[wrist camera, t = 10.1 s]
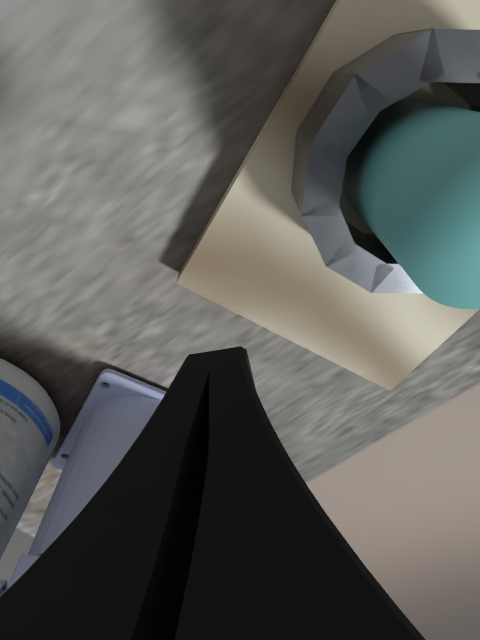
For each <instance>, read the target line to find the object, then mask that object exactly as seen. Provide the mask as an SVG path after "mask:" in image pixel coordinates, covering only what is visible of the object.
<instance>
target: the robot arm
mask: <svg viewBox="0 0 480 640" xmlns="http://www.w3.org/2000/svg"><path fill="white" fill-rule="evenodd" d="M103 382H106V383H108V384H104V383H103ZM53 465H54V466H55V467H56V468H58V469H61V470H63V471H62V474H61V476H60V478H59V481H58V483H57V486H56V488H55V490H54V493H53V495H52V498H51V500H50V502H49V505H48V507H47V510H46V512H45V514H44V517H43V519H42V521H41V524H40V526H39V529H38V531H37V533H36V536H35V538H34V541H33V543H32V545H31V548H30V550H29V553H28V554H23V555H21V556H20V559H19V561H18V563H17V566H16V568H15V570H14V573H13V575H12V577H11V580H10V582H9V584H8V586H7V580H2V579H0V640H425V639H424V637H423V636H422V635H421V634H420V633H419V632H418V630H417V629H416V628H415V627H414V626H413V624H412V623H411V622H410V621H409V620H408V618H406V616H405V615H404V614H403V613H402V611H401V610H400V609H399V608H398V607H397V605H396V604H395V603H394V602H393V600H392V599H391V598H390V597H389V595H388V594H387V593H386V592H385V590H384V589H383V588H382V587H381V585H380V584H379V583H378V582H377V581H376V579H375V578H374V577H373V575H372V574H371V573H370V572H369V571H368V569H367V568H366V567H365V566H364V564H363V563H362V561H361V560H360V559H359V557H358V556H357V555H356V553H355V552H354V551H353V549H352V548H351V547H350V545H349V544H348V543H347V541H346V540H345V539H344V537H343V536H342V534H341V533H340V532H339V531H338V529H337V528H336V526H335V525H334V524H333V522H332V521H331V520H330V518H329V517H328V516H327V514H326V513H325V512H324V510H323V509H322V507H321V506H320V504H319V503H318V501H317V500H316V498H315V497H314V495H313V494H312V492H311V491H310V489H309V488H308V487H307V485H306V483H305V482H304V480H303V478H302V477H301V475H300V474H299V472H298V471H297V469H296V467H295V466H294V464H293V462H292V461H291V459H290V457H289V456H288V454H287V452H286V451H285V449H284V447H283V445H282V443H281V442H280V440H279V438H278V436H277V434H276V432H275V431H274V429H273V427H272V425H271V423H270V421H269V419H268V417H267V415H266V412H265V410H264V408H263V406H262V404H261V401H260V399H259V397H258V395H257V392H256V389H255V385H254V380H253V376H252V372H251V367H250V363H249V359H248V354H247V350H246V349H244V348H242V347H234V348H228V349H222V350H216V351H209V352H203V353H197V354H190V355H188V357H187V358H186V359H185V361H184V363H183V364H182V366H181V368H180V370H179V371H178V373H177V375H176V377H175V378H174V380H173V382H172V383H171V385H170V387H169V389H168V390H167V392H166V391H164V390H161V389H159V388H157V387H154V386H152V385H149V384H147V383H144V382H142V381H140V380H137V379H135V378H132V377H130V376H127V375H125V374H123V373H120V372H118V371H115V370H113V369H104V370H103V371H102V372H101V373H100V375H99V377H98V379H97V381H96V382H95V384H94V386H93V388H92V390H91V392H90V393H89V395H88V397H87V399H86V401H85V403H84V405H83V406H82V408H81V410H80V412H79V414H78V416H77V418H76V419H75V421H74V423H73V425H72V427H71V429H70V431H69V432H68V434H67V436H66V438H65V440H64V442H63V444H62V445H61V447H60V449H59V451H58V453H57V455H56V456H55V458H54V461H53ZM6 588H7V589H6Z"/></svg>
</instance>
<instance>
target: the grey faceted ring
mask: <svg viewBox="0 0 480 640" xmlns="http://www.w3.org/2000/svg"><path fill="white" fill-rule="evenodd" d="M431 82H443V83H445V84H446V85H447V86H448V87H449V88H450V89H452V90H453V91H454V92H455V93H456V94H457V95H459V96H460V97H461V98H462V99H463V100H464V101H466V102H467V103H468V104H469V108H470V110H472V111H476V112H480V30H466V29H434V28H430V29H424V30H418V31H411V32H405V33H398V34H394V35H393V36H391V37H390V38H388V39H386V40H385V41H383V42H381V43H380V44H378V45H376V46H375V47H373V48H371V49H370V50H368V51H366V52H365V53H363V54H362V55H360V56H358V57H357V58H355V59H353V60H352V61H350V62H348V63H347V64H345V65H343V66H342V67H340V68H339V69H337V70H335V71H333V73H332V74H331V76H330V78H329V79H328V81H327V82H326V84H325V86H324V87H323V89H322V91H321V92H320V94H319V95H318V97H317V99H316V100H315V102H314V103H313V105H312V107H311V108H310V110H309V111H308V113H307V115H306V116H305V118H304V120H303V121H302V123H301V124H300V126H299V128H298V129H297V131H296V142H295V153H294V164H293V175H292V186H291V192H292V194H293V197H294V199H295V201H296V204H297V206H298V209H299V211H300V213H301V216H302V217H303V219H304V221H305V223H306V225H307V227H308V229H309V232H310V234H311V236H312V238H313V240H314V242H315V244H316V246H317V248H318V251H319V253H320V255H321V257H322V259H323V262H324V264H325V266H326V267H328V268H330V269H331V270H333V271H335V272H336V273H338V274H340V275H342V276H343V277H345V278H347V279H348V280H350V281H352V282H353V283H355V284H357V285H359V286H360V287H362V288H364V289H365V290H367V291H369V292H370V293H412V294H424V293H423V292H422V291H421V290H420V289H419V288H418V287H417V286H416V285H415V284H414V282H413V281H412V280H411V279H410V277H409V276H408V275H407V274H406V272H405V271H404V270H403V268H402V267H401V266H400V265H399V263H398V262H397V261H396V260H395V258H394V257H393V256H392V255H391V253H390V252H389V251H388V250H387V248H386V247H385V246H384V245H383V243H382V242H381V241H380V240H379V238H378V237H377V236H376V235H375V233H363V232H362V231H360V230H359V229H357V228H355V227H354V226H352V225H351V224H349V223H348V222H346V221H345V219H344V217H343V214H342V212H341V210H340V207H339V204H340V198H341V191H342V185H343V179H344V172H345V166H346V160H347V157H348V155H349V154H350V153H351V151H352V150H353V148H354V147H355V146H356V144H357V143H358V141H359V140H360V139H361V137H362V136H363V134H364V133H365V131H366V130H367V129H368V127H369V126H370V124H371V123H372V122H373V120H374V119H375V117H376V116H377V115H378V113H379V112H380V111H381V110H383V109H384V108H386V107H388V106H390V105H392V104H393V103H395V102H397V101H399V100H400V99H402V98H404V97H406V96H408V95H409V94H411V93H413V92H415V91H416V90H418V89H420V88H422V87H424V86H425V85H427V84H429V83H431Z"/></svg>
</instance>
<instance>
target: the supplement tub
mask: <svg viewBox="0 0 480 640" xmlns="http://www.w3.org/2000/svg"><path fill="white" fill-rule="evenodd" d="M59 435H60V419H59V415H58V412H57V410H56V408H55V406H54V404H53V402H52V400H51V398H50V397H49V395H48V394H47V392H46V391H45V390H44V389H43V387H42V386H41V385H40V384H39V383H38V382H37V381H36V380H35V379H33V378H32V377H31V376H30V375H28V374H27V373H26V372H24V371H23V370H21V369H20V368H18V367H16V366H15V365H13V364H11V363H9V362H7V361H5V360H3V359H1V358H0V559H1V557H2V555H3V553H4V551H5V549H6V546H7V544H8V543H9V541H10V538H11V537H12V534H13V532H14V530H15V528H16V526H17V524H18V522H19V520H20V518H21V516H22V514H23V512H24V510H25V508H26V506H27V504H28V502H29V500H30V498H31V496H32V493H33V491H34V489H35V487H36V485H37V483H38V481H39V479H40V477H41V475H42V473H43V471H44V469H45V467H46V465H47V463H48V461H49V459H50V457H51V454H52V452H53V450H54V448H55V446H56V444H57V442H58V439H59Z"/></svg>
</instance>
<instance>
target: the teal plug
mask: <svg viewBox="0 0 480 640" xmlns="http://www.w3.org/2000/svg"><path fill="white" fill-rule="evenodd" d="M342 187H343V190H344V193H345V195H346V197H347V199H348V200H349V202H350V203H351V204H352V206H353V207H354V208H355V210H356V211H357V212H358V213H359V215H360V216H361V217H362V218H363V220H364V221H365V222H366V223H367V225H368V226H369V227H370V228H371V230H372V231H373V232H374V233H375V235H376V236H377V237H378V238H379V240H380V241H381V242H382V243H383V245H384V246H385V247H386V248H387V250H388V251H389V252H390V253H391V255H392V256H393V257H394V258H395V260H396V261H397V262H398V263H399V265H400V266H401V267H402V268H403V270H404V271H405V272H406V274H407V275H408V276H409V277H410V279H411V280H412V281H413V282H414V284H415V285H416V286H417V287H418V288H419V289H420V290H421V291H422V292H423V293H424V294H425V295H426V296H427V297H429V298H430V299H432V300H434V301H435V302H437V303H439V304H442V305H445V306H448V307H453V308H458V309H480V112H476V111H472V110H467V109H462V108H458V107H453V106H449V105H444V104H440V103H435V102H431V101H426V100H422V99H403V100H399V101H397V102H395V103H393V104H392V105H390V106H388V107H386V108H384V109H383V110H381V111H380V112H379V113H378V115H377V116H376V117H375V119H374V120H373V122H372V123H371V124H370V126H369V127H368V129H367V130H366V131H365V133H364V134H363V136H362V137H361V139H360V140H359V141H358V143H357V144H356V146H355V147H354V148H353V150H352V151H351V153H350V154H349V155H348V157H347V160H346V166H345V172H344V179H343V185H342Z"/></svg>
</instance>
